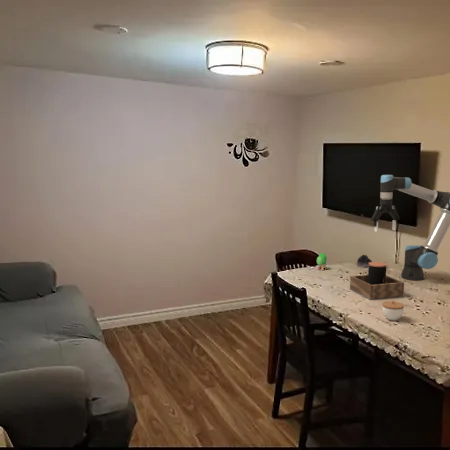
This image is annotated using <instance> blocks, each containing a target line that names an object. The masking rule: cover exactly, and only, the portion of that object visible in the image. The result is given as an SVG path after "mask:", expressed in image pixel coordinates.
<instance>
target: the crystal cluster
mask: <svg viewBox="0 0 450 450" xmlns="http://www.w3.org/2000/svg"><path fill="white" fill-rule="evenodd" d="M370 262H373V261H372V259H371V258H369V256H367V255H366V254H362V255H360V256H359V257H358V258H357V261H356V265H357V267H360V268H369V263H370Z"/></svg>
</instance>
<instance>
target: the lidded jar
mask: <svg viewBox="0 0 450 450" xmlns="http://www.w3.org/2000/svg"><path fill="white" fill-rule="evenodd" d="M381 305H382V306H381V307H382V308H381V309H382V314H383V316H384V317H386V318H385V319H387V320H390V321H399V320H400V318H401V317H402V316H403V313H404V307H405V306H404V304H403V303H401V302H398V301H394V300H387V301H383V302H382V304H381Z"/></svg>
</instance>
